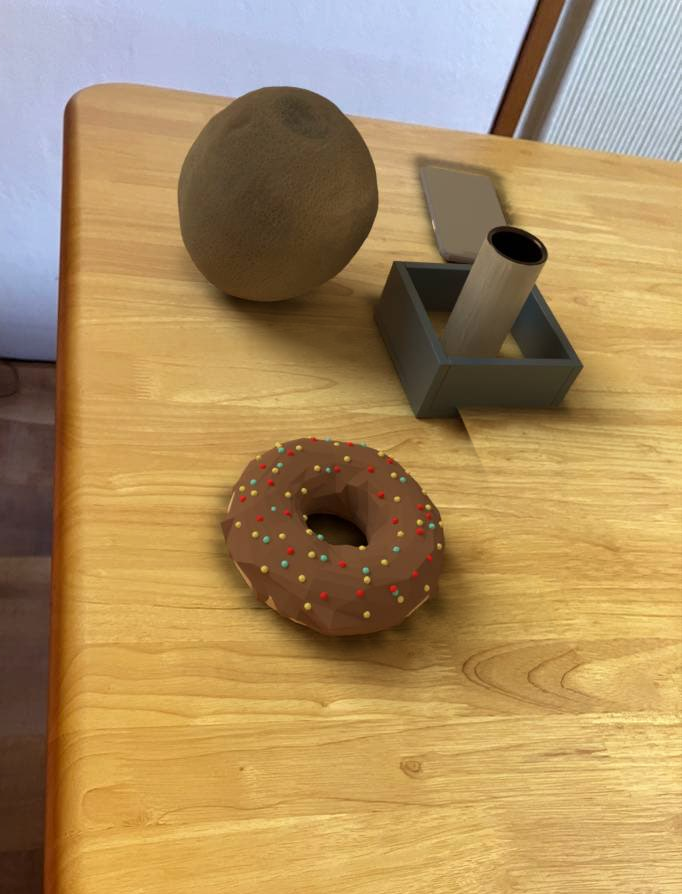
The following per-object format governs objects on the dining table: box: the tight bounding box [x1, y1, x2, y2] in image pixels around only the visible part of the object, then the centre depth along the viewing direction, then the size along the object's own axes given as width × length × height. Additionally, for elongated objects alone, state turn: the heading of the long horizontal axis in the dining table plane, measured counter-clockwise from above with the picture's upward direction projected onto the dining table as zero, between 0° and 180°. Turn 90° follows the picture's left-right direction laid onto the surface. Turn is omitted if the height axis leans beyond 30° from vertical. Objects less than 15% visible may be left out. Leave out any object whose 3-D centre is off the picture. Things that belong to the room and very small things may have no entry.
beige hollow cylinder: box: [439, 225, 549, 358], centre depth 65 cm, size 4×4×10 cm
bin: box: [373, 260, 585, 419], centre depth 68 cm, size 12×12×5 cm
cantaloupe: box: [176, 85, 380, 302], centre depth 65 cm, size 14×14×15 cm
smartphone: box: [419, 165, 508, 265], centre depth 83 cm, size 8×1×15 cm
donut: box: [219, 435, 446, 637], centre depth 53 cm, size 14×14×5 cm
